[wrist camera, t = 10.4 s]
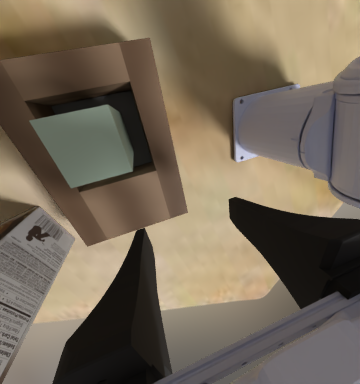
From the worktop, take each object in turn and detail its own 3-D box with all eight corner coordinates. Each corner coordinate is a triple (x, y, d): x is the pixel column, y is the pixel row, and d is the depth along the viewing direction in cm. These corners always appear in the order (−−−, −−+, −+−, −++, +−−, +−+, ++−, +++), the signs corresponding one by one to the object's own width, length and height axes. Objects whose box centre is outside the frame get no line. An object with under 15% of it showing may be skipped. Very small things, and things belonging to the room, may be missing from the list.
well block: (146, 58, 14) (149, 37, 11) (179, 197, 22) (187, 212, 18) (7, 81, 13) (-42, 66, 9) (95, 224, 20) (87, 246, 17)
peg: (120, 112, 15) (107, 104, 8) (133, 151, 17) (132, 171, 10) (79, 121, 15) (28, 120, 8) (98, 160, 16) (70, 188, 9)
